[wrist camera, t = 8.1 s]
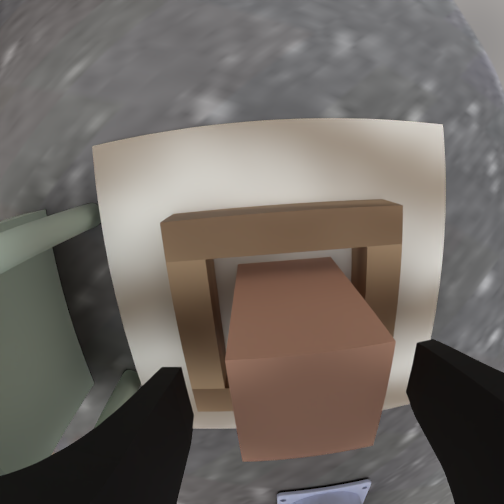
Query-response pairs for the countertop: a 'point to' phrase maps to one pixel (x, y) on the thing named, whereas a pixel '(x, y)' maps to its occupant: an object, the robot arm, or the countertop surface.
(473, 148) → the countertop surface
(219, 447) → the countertop surface
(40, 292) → the green box
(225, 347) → the socket
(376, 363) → the peg
